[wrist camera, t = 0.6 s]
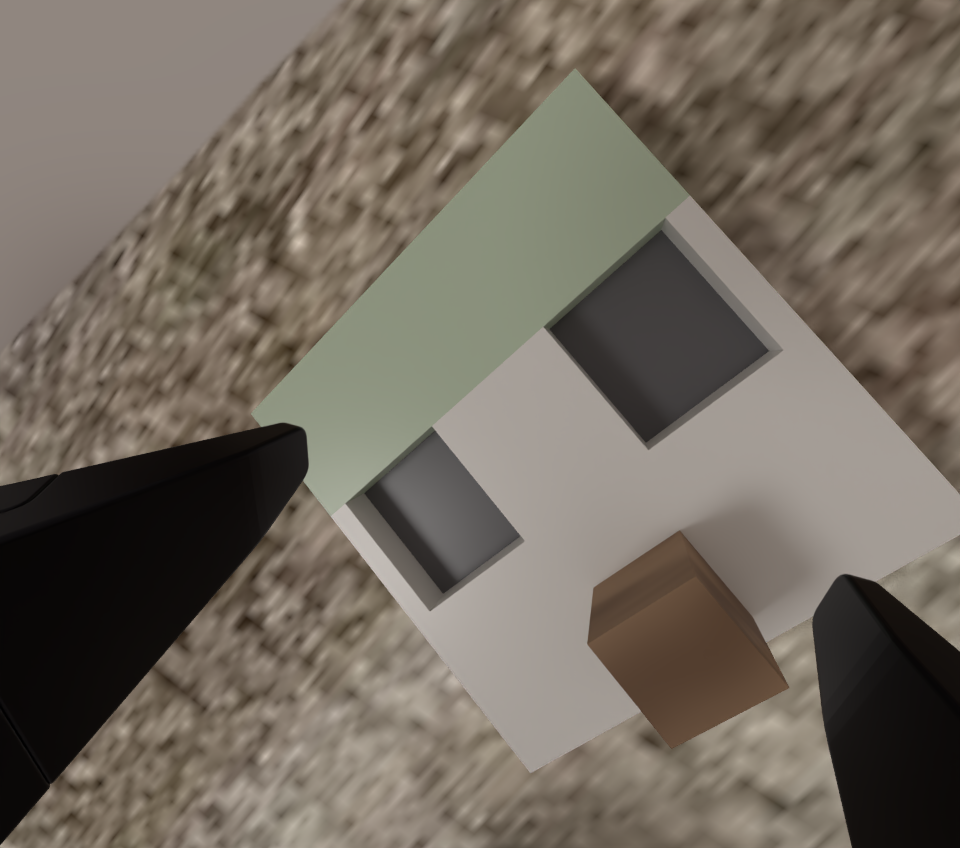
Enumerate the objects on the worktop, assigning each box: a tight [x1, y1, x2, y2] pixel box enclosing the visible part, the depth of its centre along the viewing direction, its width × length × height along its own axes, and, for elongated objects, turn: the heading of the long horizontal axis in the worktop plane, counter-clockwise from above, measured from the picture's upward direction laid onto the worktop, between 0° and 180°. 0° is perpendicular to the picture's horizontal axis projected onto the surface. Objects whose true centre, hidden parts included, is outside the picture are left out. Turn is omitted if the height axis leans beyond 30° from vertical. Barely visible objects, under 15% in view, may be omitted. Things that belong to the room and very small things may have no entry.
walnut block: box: [587, 530, 789, 749], centre depth 17 cm, size 4×4×4 cm
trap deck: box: [251, 69, 960, 773], centre depth 20 cm, size 20×19×2 cm
